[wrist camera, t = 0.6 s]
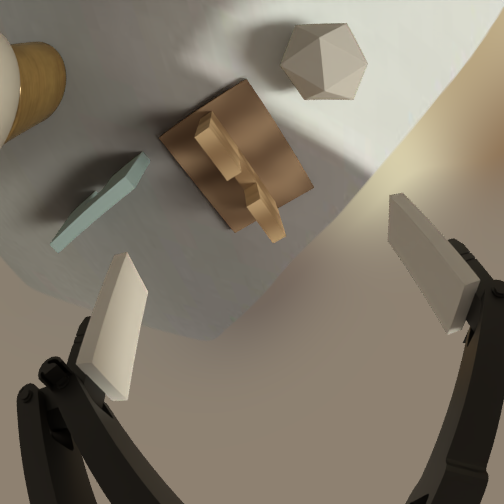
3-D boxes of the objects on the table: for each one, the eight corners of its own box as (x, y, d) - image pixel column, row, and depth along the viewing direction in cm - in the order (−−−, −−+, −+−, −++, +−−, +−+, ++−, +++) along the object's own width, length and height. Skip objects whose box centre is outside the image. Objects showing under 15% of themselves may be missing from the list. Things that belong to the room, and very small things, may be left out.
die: (301, 109, 35) (375, 120, 29) (249, 75, 29) (332, 76, 22) (320, 52, 34) (393, 55, 27) (275, 12, 27) (355, 3, 21)
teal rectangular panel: (72, 212, 40) (49, 244, 33) (142, 151, 36) (125, 176, 30) (79, 219, 40) (58, 253, 34) (150, 161, 37) (135, 188, 30)
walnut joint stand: (160, 135, 35) (143, 161, 28) (246, 78, 32) (253, 86, 25) (234, 229, 44) (237, 271, 36) (312, 184, 41) (332, 219, 33)
